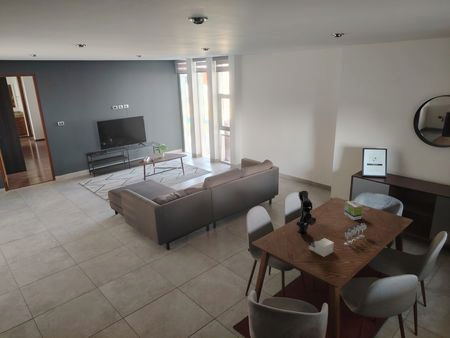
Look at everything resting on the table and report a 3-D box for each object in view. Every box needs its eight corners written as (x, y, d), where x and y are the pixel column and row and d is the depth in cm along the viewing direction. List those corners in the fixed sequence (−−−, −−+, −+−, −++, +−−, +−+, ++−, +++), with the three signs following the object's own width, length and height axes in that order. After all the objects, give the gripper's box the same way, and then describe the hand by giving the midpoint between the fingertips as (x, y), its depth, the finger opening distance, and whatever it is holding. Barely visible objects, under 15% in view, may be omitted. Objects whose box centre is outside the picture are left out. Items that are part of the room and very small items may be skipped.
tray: (310, 247, 266) (310, 241, 264) (315, 245, 269) (315, 239, 268) (323, 254, 255) (324, 248, 253) (328, 252, 258) (328, 245, 256)
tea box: (343, 214, 325) (345, 201, 321) (351, 213, 328) (353, 200, 323) (353, 220, 311) (354, 207, 307) (361, 218, 314) (363, 205, 310)
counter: (309, 248, 263) (309, 239, 261) (318, 244, 270) (318, 235, 267) (323, 256, 251) (324, 247, 249) (332, 251, 258) (333, 242, 255)
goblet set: (347, 246, 266) (349, 232, 262) (342, 243, 271) (343, 229, 267) (366, 236, 281) (368, 223, 277) (360, 233, 285) (362, 220, 282)
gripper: (306, 220, 255) (305, 237, 260) (320, 214, 265) (319, 230, 270) (296, 216, 264) (295, 232, 268) (310, 210, 274) (309, 225, 279)
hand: (305, 230), depth 271 cm, fingers closed
